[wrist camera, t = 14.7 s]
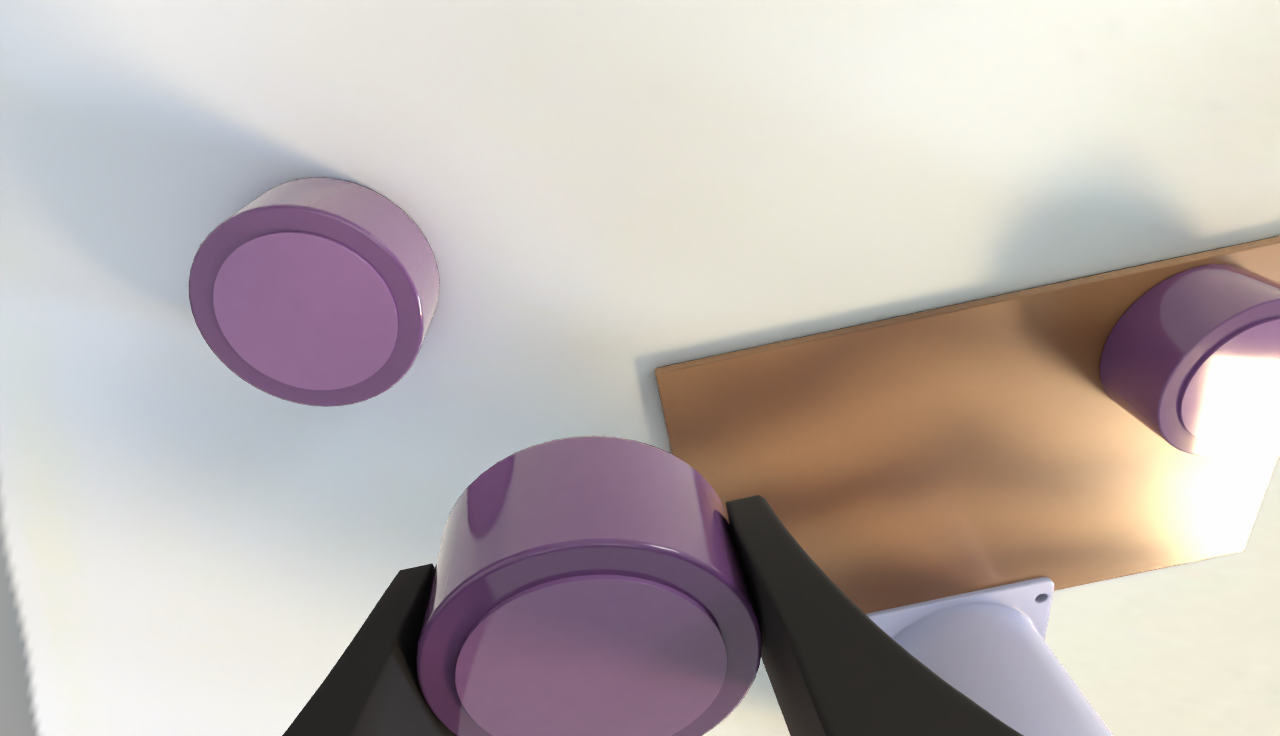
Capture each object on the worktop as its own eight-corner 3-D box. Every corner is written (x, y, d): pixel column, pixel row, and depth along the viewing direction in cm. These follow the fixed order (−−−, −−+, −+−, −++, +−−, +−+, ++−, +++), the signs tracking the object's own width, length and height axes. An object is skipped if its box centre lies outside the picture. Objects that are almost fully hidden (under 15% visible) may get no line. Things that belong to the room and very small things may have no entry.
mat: (1235, 544, 28) (1244, 551, 28) (712, 652, 28) (714, 661, 28) (1351, 220, 21) (1364, 224, 21) (654, 368, 21) (655, 374, 21)
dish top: (1241, 392, 23) (1316, 438, 21) (1087, 425, 24) (1145, 473, 21) (1287, 246, 21) (1378, 280, 18) (1112, 283, 21) (1182, 321, 18)
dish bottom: (465, 339, 20) (452, 385, 18) (288, 377, 20) (251, 428, 18) (399, 156, 17) (373, 183, 15) (194, 201, 17) (137, 234, 15)
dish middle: (745, 617, 14) (779, 741, 12) (492, 669, 14) (477, 804, 12) (708, 404, 11) (745, 512, 9) (397, 470, 12) (354, 594, 9)
